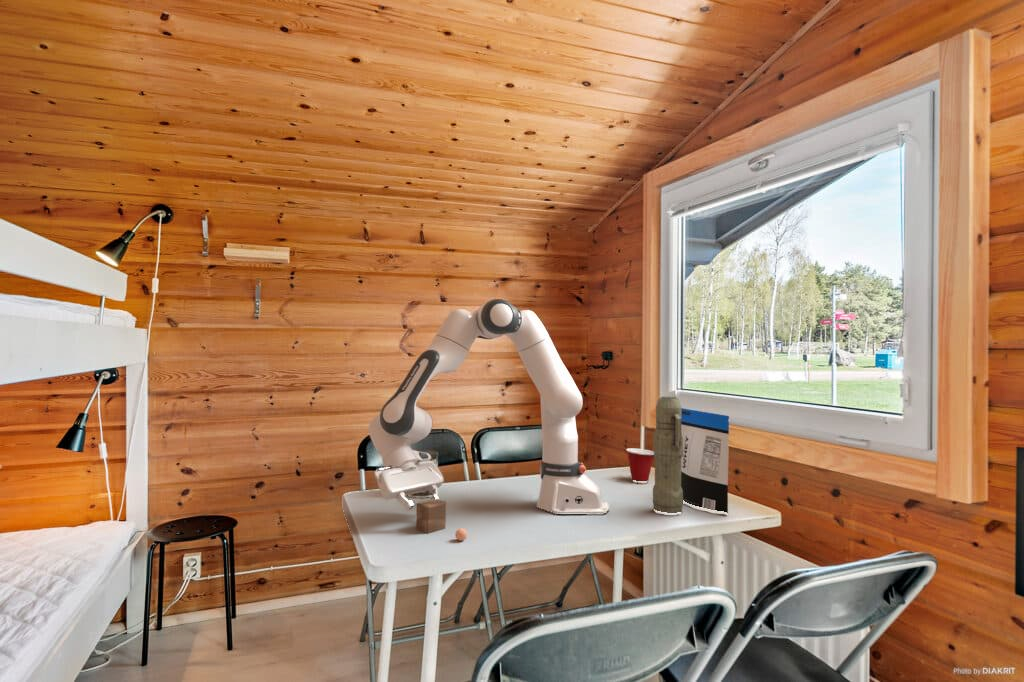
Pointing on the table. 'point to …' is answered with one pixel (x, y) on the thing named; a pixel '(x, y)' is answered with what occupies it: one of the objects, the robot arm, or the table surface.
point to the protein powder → (705, 459)
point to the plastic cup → (640, 463)
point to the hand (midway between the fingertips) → (424, 504)
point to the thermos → (668, 456)
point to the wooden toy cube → (431, 515)
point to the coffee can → (435, 459)
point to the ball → (461, 534)
